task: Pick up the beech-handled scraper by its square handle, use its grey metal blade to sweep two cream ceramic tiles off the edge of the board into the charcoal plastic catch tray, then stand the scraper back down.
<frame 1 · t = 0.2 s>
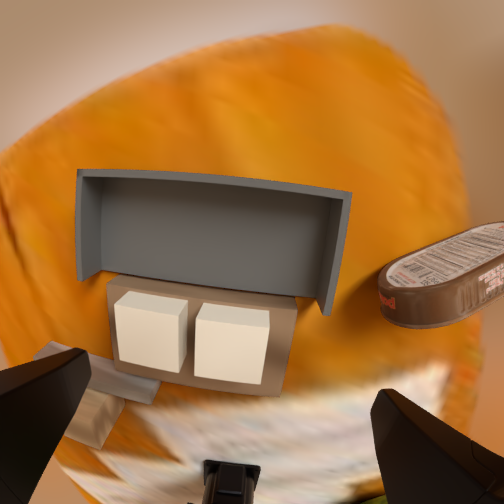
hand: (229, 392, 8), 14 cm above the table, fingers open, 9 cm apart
tray: (206, 230, 21), on the table
scraper: (106, 386, 25), on the table
tin: (439, 250, 21), on the table
tile a: (233, 335, 20), point 2 cm above the table, touching board
board: (200, 331, 23), on the table
tile b: (157, 323, 20), point 2 cm above the table, touching board
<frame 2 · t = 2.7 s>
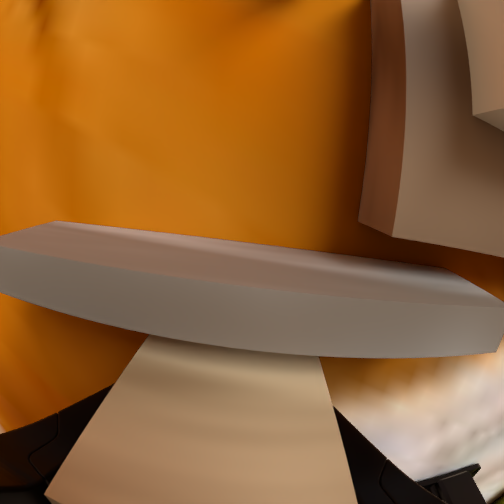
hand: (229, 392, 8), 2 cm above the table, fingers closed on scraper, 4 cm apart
scraper: (233, 363, 9), on the table, touching gripper
lettuce: (500, 497, 15), on the table
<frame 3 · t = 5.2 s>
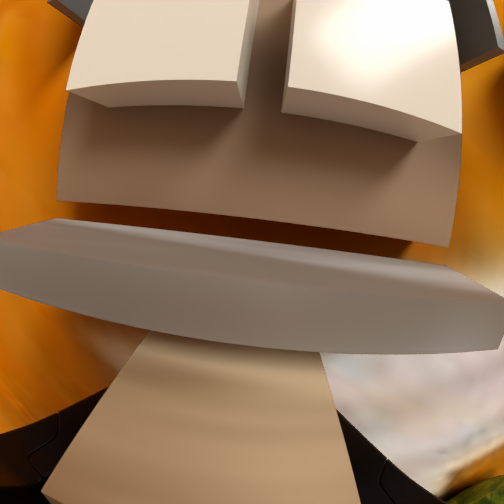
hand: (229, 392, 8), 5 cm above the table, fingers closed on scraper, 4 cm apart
scraper: (234, 361, 9), point 3 cm above the table, touching gripper
tile a: (358, 62, 7), point 2 cm above the table, touching board
board: (264, 106, 10), on the table
tile b: (182, 43, 7), point 2 cm above the table, touching board
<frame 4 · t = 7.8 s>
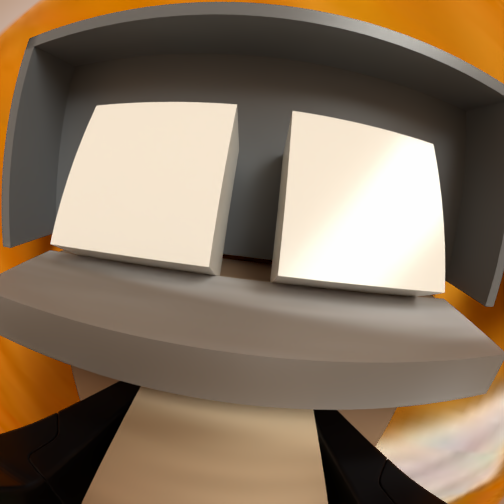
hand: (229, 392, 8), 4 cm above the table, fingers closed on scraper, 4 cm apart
tray: (261, 147, 10), on the table
scraper: (230, 389, 9), point 3 cm above the table, touching gripper, tile a, tile b
tile a: (344, 224, 9), point 1 cm above the table, tilted 25°, touching board, scraper, tray
board: (237, 350, 12), on the table
tile b: (162, 202, 9), point 1 cm above the table, tilted 25°, touching board, scraper, tray
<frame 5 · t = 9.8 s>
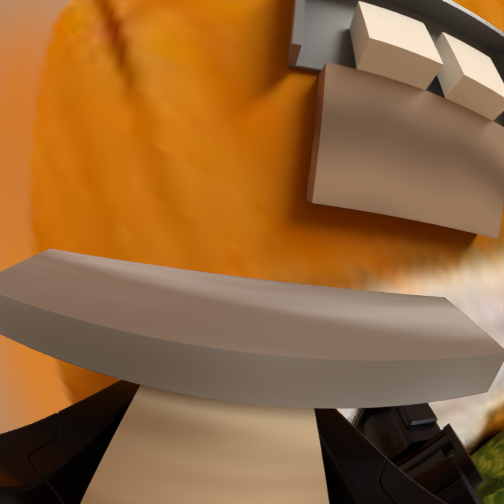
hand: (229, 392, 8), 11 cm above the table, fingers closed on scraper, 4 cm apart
tray: (416, 50, 14), on the table
scraper: (231, 387, 9), point 10 cm above the table, touching gripper
lettuce: (475, 453, 24), on the table
tile a: (461, 85, 14), point 1 cm above the table, tilted 25°, touching board, tray
board: (414, 157, 16), on the table
tile b: (386, 56, 14), point 1 cm above the table, tilted 25°, touching board, tray
when the fingers open (2 cm above the table, at t = 11.6 s): scraper drops 1 cm, on the table.
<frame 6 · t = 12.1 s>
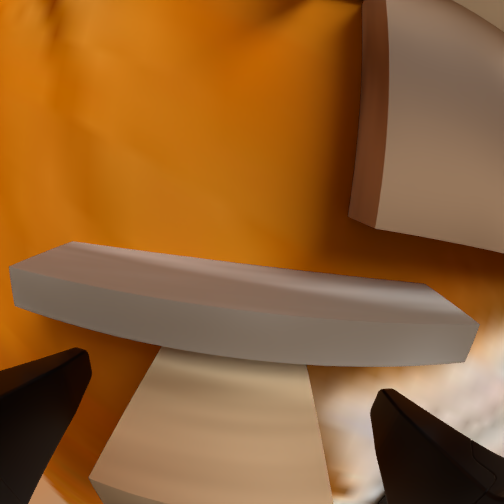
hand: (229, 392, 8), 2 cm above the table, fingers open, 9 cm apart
scraper: (234, 367, 10), on the table
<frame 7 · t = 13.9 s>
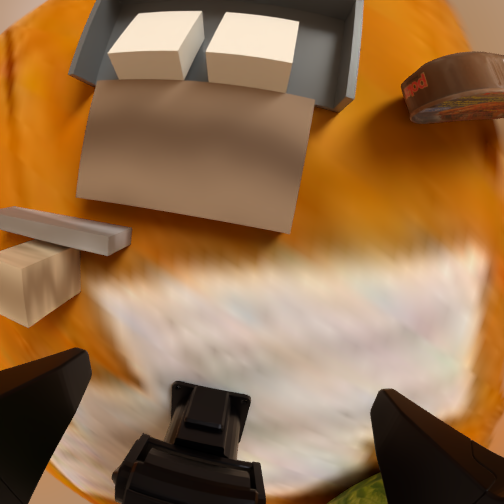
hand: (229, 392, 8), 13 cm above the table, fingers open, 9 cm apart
tray: (217, 39, 16), on the table
scraper: (62, 263, 20), on the table
tin: (459, 102, 16), on the table
lettuce: (367, 484, 26), on the table
tile a: (253, 63, 15), point 1 cm above the table, tilted 25°, touching board, tray
board: (191, 149, 18), on the table
tile b: (162, 56, 15), point 1 cm above the table, tilted 25°, touching board, tray
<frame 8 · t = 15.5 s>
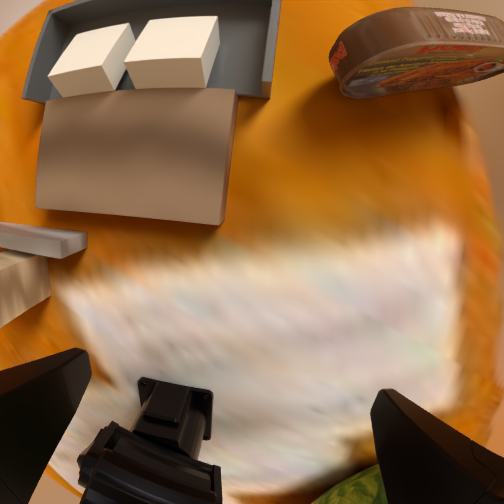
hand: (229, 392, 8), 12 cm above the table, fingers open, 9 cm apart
tray: (150, 46, 16), on the table
scraper: (33, 270, 21), on the table
tin: (409, 72, 16), on the table
lettuce: (356, 481, 26), on the table
tile a: (178, 63, 15), point 1 cm above the table, tilted 25°, touching board, tray
board: (131, 153, 18), on the table
tile b: (99, 70, 16), point 1 cm above the table, tilted 25°, touching board, tray
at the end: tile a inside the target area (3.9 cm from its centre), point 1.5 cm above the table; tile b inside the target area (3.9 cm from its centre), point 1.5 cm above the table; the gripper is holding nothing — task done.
